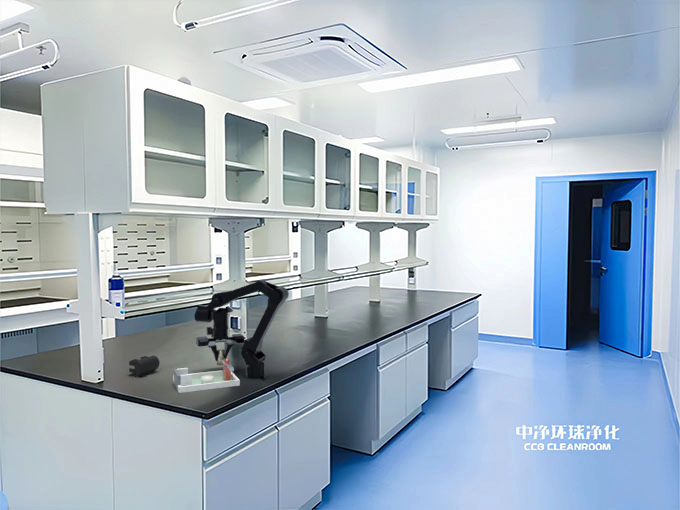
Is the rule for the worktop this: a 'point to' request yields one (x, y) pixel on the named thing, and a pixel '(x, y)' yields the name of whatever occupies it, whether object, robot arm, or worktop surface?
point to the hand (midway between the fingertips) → (220, 360)
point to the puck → (206, 379)
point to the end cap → (143, 365)
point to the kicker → (224, 365)
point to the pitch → (193, 381)
